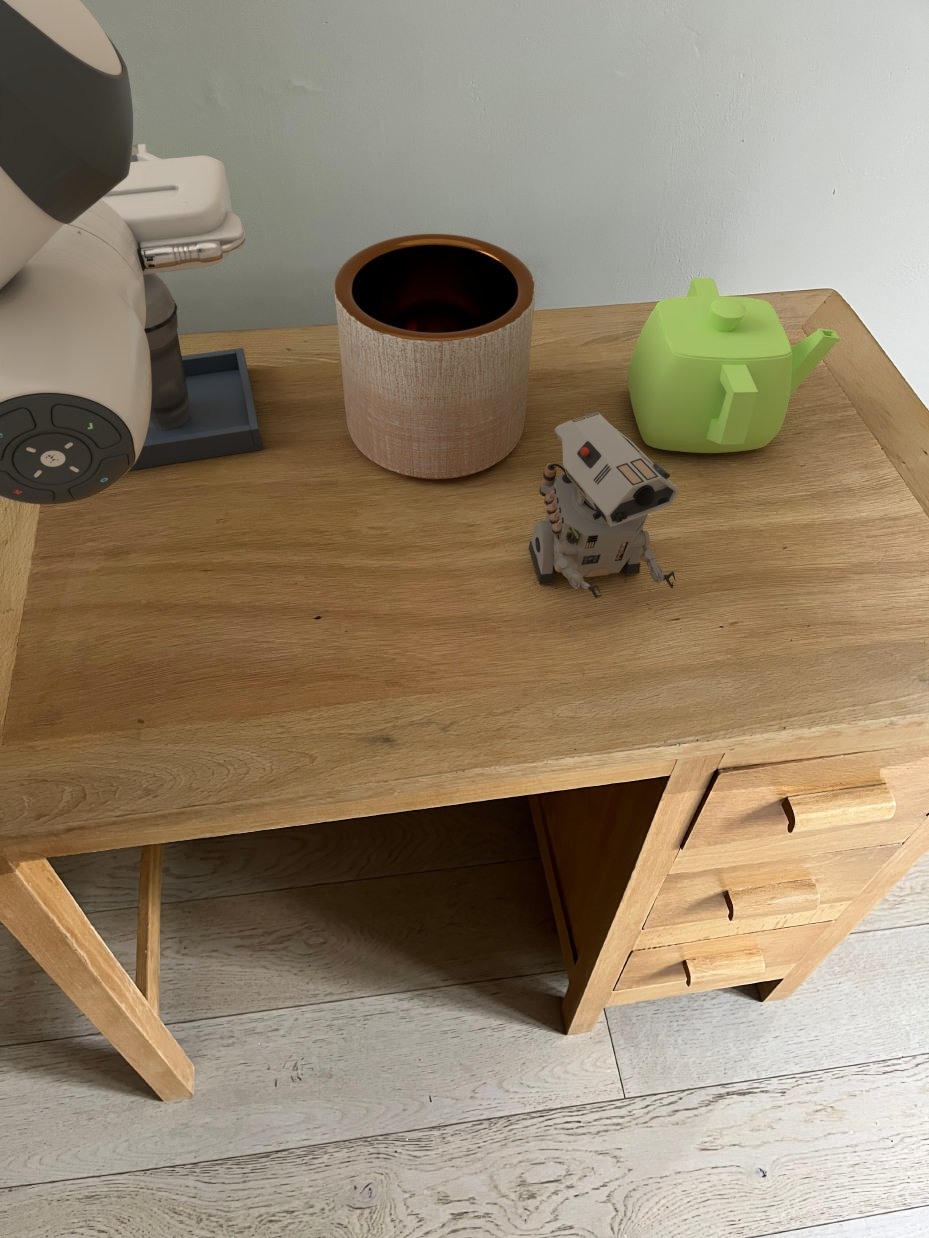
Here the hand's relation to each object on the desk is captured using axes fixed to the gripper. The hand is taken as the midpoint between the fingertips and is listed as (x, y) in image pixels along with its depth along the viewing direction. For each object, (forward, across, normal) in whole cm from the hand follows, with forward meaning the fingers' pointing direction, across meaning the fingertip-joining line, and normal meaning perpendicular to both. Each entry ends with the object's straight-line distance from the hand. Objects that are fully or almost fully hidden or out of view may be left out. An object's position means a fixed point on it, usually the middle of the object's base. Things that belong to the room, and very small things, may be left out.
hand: (62, 163), depth 55 cm
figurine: (-19, -34, +30) cm, 49 cm away
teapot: (-1, -54, +30) cm, 62 cm away
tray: (+12, 0, +30) cm, 32 cm away
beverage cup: (+12, 0, +30) cm, 32 cm away
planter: (+5, -26, +30) cm, 40 cm away
